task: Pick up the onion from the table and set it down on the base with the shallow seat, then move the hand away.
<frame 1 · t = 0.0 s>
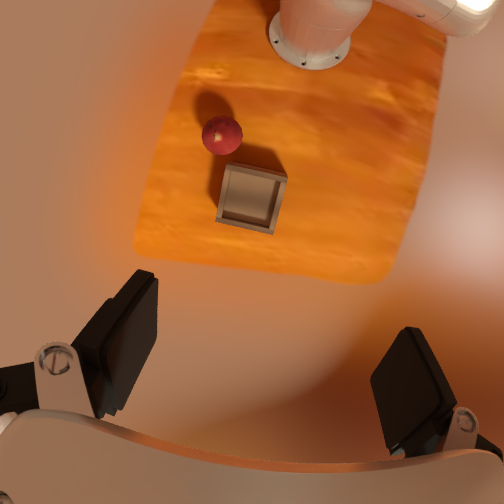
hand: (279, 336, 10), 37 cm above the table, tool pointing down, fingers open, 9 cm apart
onion: (226, 134, 41), on the table
base: (252, 193, 45), on the table
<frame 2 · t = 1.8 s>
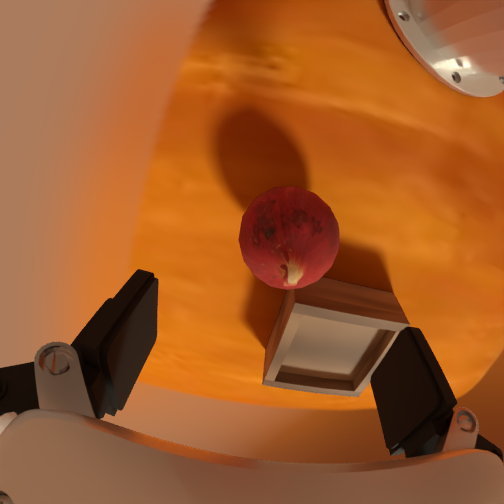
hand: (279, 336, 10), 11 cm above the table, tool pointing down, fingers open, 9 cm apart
onion: (288, 215, 20), on the table
base: (327, 324, 23), on the table
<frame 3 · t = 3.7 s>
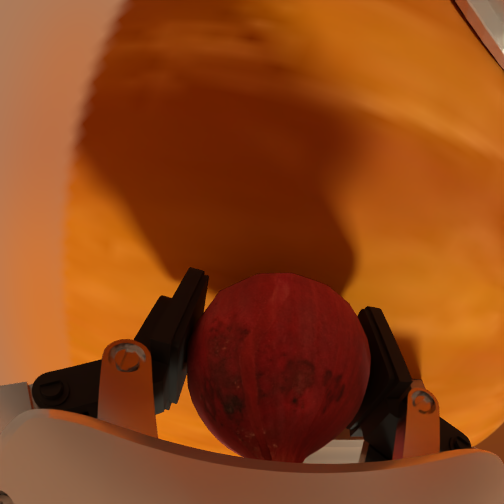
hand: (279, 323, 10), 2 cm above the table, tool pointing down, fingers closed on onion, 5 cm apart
onion: (278, 297, 12), on the table, touching gripper
base: (331, 418, 16), on the table
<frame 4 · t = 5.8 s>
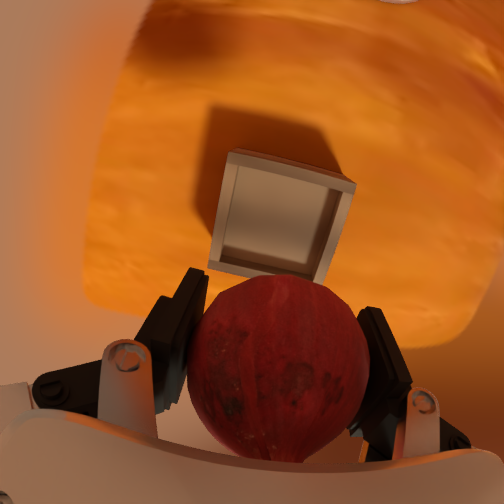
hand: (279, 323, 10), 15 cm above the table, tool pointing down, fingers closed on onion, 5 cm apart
onion: (278, 298, 12), point 13 cm above the table, touching gripper
base: (278, 211, 24), on the table
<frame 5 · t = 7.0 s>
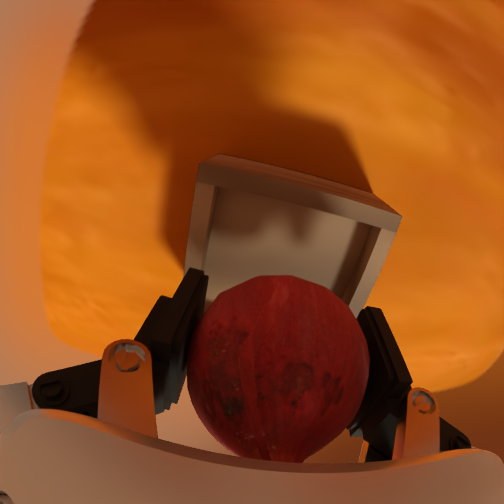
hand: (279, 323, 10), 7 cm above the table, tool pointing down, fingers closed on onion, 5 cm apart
onion: (278, 299, 12), point 5 cm above the table, touching gripper
base: (279, 245, 17), on the table
when the fingers open (6 cm above the table, at t = 8.1 s): onion drops 1 cm, resting on base.
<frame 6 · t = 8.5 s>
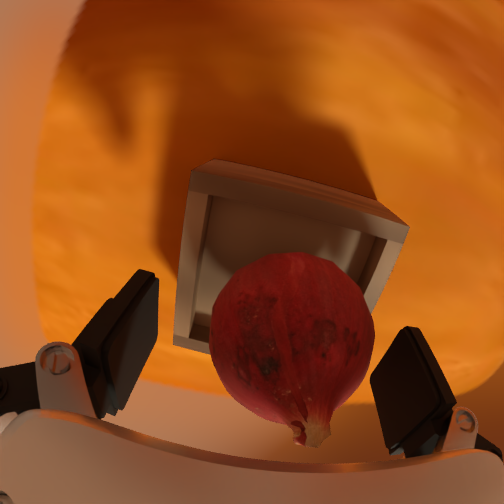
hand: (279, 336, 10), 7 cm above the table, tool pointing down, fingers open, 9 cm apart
onion: (279, 279, 13), point 3 cm above the table, touching base
base: (278, 255, 16), on the table
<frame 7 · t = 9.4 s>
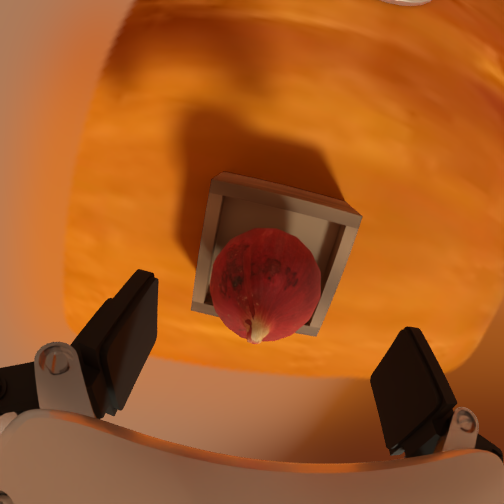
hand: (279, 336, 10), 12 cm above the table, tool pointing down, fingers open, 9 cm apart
onion: (271, 257, 18), point 3 cm above the table, touching base
base: (271, 243, 21), on the table
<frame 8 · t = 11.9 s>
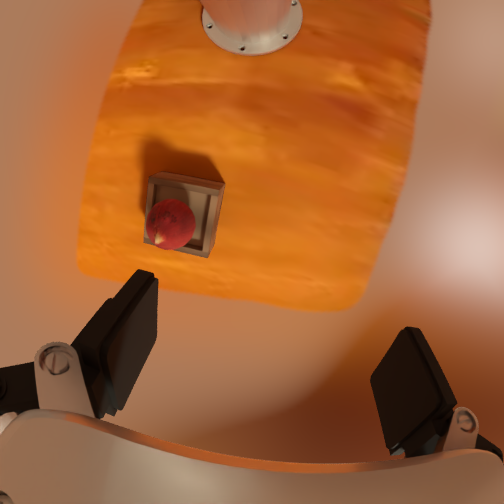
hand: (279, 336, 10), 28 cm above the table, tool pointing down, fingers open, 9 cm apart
onion: (181, 213, 35), point 3 cm above the table, touching base
base: (187, 208, 38), on the table
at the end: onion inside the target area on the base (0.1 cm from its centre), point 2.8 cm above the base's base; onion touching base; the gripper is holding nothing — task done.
